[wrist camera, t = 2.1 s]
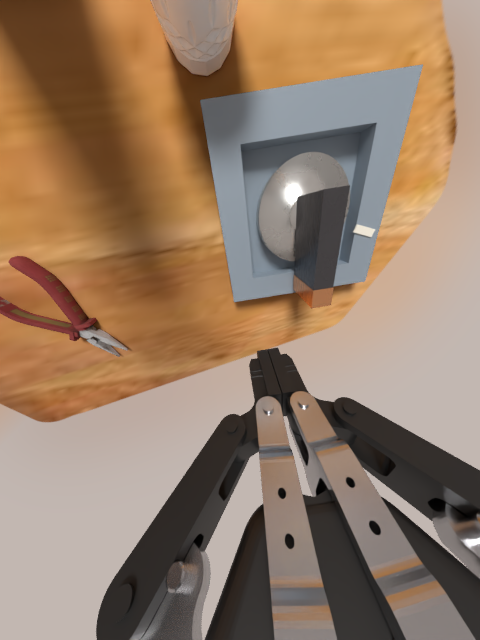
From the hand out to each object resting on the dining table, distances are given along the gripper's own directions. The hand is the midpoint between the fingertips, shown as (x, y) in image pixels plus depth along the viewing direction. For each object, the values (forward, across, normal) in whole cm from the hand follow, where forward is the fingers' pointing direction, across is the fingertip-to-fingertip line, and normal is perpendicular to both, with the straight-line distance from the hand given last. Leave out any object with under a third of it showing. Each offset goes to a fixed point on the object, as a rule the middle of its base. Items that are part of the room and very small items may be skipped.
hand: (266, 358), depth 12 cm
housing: (+20, -9, -8) cm, 23 cm away
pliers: (+20, +33, +2) cm, 39 cm away
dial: (+19, -9, -6) cm, 22 cm away
